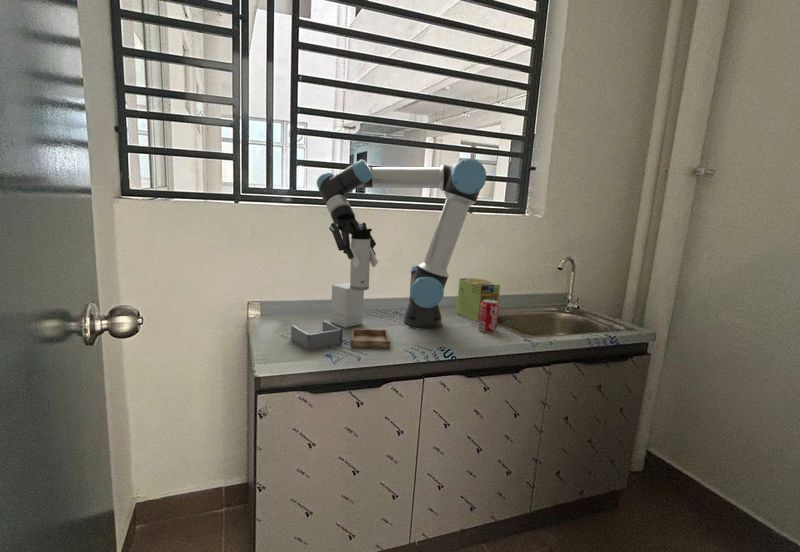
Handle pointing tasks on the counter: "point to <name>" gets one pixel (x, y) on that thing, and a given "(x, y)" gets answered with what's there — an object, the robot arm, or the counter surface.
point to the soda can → (488, 315)
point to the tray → (370, 338)
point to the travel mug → (360, 259)
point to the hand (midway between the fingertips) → (366, 265)
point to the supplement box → (346, 305)
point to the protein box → (475, 296)
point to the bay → (317, 337)
